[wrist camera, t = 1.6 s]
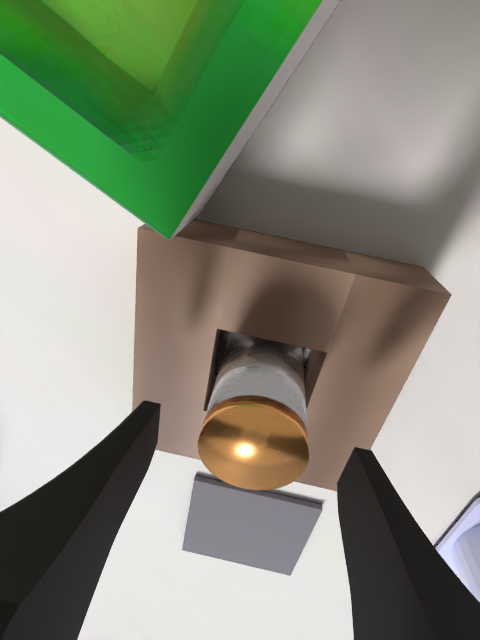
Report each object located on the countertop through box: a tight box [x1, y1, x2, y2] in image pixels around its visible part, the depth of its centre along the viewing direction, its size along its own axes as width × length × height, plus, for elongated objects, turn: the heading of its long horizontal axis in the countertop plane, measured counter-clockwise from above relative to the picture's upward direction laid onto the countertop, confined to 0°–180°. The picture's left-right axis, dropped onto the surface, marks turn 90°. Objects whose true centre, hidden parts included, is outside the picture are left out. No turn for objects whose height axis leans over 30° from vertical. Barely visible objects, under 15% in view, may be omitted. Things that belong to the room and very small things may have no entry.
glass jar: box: [198, 332, 309, 490], centre depth 15 cm, size 4×4×7 cm
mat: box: [182, 475, 322, 575], centre depth 26 cm, size 9×9×1 cm
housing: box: [132, 219, 451, 491], centre depth 17 cm, size 12×12×3 cm
